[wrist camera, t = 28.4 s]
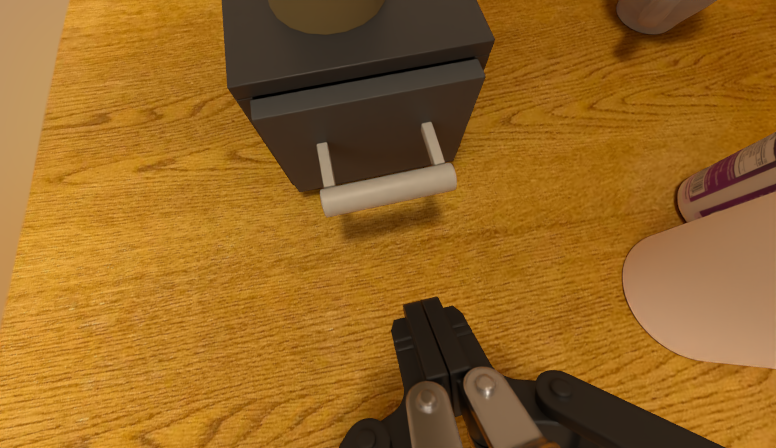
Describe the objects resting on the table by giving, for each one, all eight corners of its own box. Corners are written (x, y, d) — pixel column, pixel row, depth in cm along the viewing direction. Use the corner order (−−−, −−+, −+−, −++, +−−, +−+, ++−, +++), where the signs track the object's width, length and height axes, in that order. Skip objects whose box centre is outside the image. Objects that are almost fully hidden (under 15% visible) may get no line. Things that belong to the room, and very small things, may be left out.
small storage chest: (454, 152, 23) (495, 39, 14) (292, 185, 22) (226, 87, 13) (408, 20, 28) (417, -127, 19) (273, 43, 27) (214, -100, 18)
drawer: (471, 213, 21) (518, 149, 13) (307, 249, 20) (259, 202, 12) (408, 30, 26) (416, -86, 19) (279, 52, 25) (234, -60, 18)
